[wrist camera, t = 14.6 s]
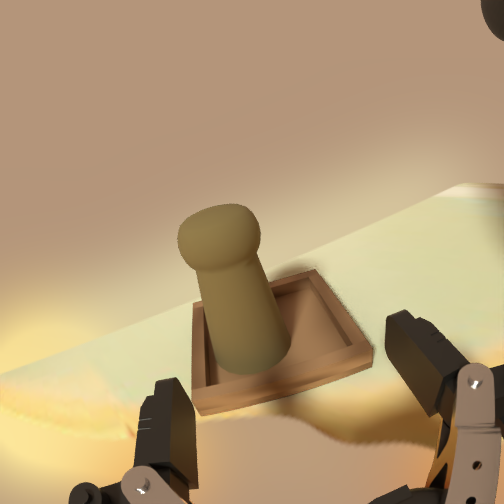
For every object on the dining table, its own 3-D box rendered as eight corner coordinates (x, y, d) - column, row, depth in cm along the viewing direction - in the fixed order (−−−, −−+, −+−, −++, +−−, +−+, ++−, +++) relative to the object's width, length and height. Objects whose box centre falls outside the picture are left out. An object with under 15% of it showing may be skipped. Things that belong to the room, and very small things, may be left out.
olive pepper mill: (207, 338, 25) (161, 216, 20) (272, 312, 26) (242, 189, 22) (226, 386, 20) (167, 241, 15) (305, 353, 21) (276, 204, 16)
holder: (317, 284, 30) (315, 269, 29) (372, 366, 19) (372, 348, 18) (198, 317, 29) (193, 302, 28) (201, 416, 18) (191, 400, 17)
